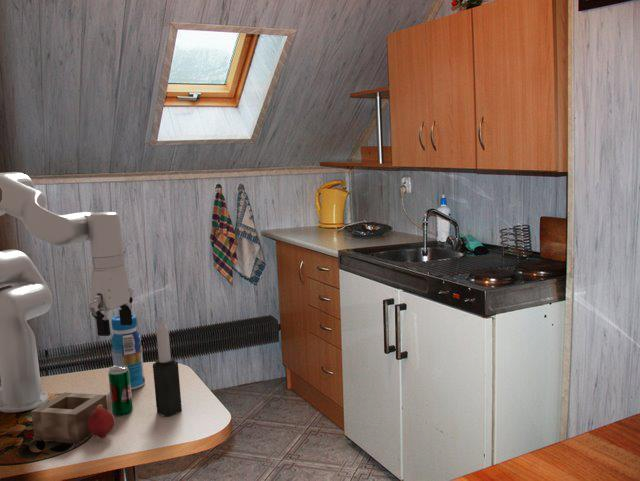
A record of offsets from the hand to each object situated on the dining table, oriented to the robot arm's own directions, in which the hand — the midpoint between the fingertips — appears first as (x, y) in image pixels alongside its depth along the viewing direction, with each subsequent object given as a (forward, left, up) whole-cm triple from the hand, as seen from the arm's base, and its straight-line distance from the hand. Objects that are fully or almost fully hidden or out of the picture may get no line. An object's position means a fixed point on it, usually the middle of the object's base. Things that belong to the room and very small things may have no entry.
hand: (115, 330), depth 165 cm
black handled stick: (+12, +2, -22) cm, 25 cm away
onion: (+3, -14, -22) cm, 26 cm away
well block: (-6, -12, -22) cm, 26 cm away
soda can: (0, 0, -22) cm, 22 cm away
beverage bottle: (-9, +18, -22) cm, 30 cm away
